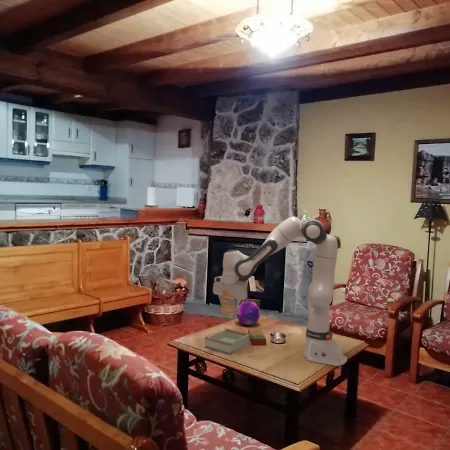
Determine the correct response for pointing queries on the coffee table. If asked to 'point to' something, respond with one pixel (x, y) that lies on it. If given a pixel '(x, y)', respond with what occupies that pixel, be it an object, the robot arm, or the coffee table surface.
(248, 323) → the decorative orb
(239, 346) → the crate
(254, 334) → the carton
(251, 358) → the coffee table surface
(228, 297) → the supplement box
